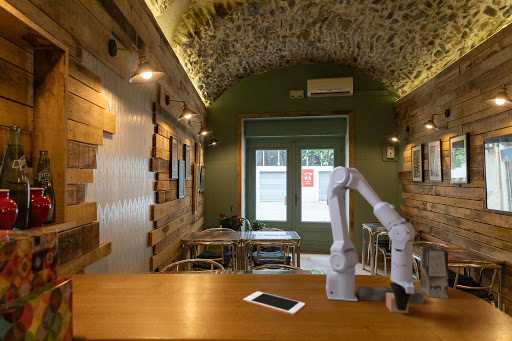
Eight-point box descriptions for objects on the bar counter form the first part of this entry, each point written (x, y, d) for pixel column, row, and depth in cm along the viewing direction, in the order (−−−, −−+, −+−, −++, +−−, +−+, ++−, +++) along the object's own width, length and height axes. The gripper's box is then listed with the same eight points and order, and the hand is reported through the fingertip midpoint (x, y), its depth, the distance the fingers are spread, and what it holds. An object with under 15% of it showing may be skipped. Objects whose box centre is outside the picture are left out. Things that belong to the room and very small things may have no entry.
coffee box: (448, 299, 103) (449, 251, 104) (428, 297, 104) (428, 250, 105) (438, 289, 112) (438, 246, 113) (419, 288, 113) (419, 244, 114)
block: (391, 311, 91) (391, 298, 92) (385, 305, 96) (386, 292, 96) (408, 313, 91) (408, 299, 91) (402, 306, 96) (402, 293, 96)
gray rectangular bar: (359, 299, 101) (359, 288, 101) (357, 296, 104) (357, 285, 104) (423, 304, 98) (423, 293, 98) (419, 300, 101) (419, 290, 101)
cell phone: (257, 293, 104) (257, 290, 104) (305, 306, 95) (305, 303, 95) (242, 301, 97) (242, 298, 97) (293, 316, 87) (293, 313, 87)
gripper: (426, 271, 83) (425, 321, 82) (407, 258, 97) (406, 301, 96) (399, 269, 83) (398, 319, 83) (384, 256, 98) (383, 299, 97)
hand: (401, 309), depth 90 cm, fingers closed
